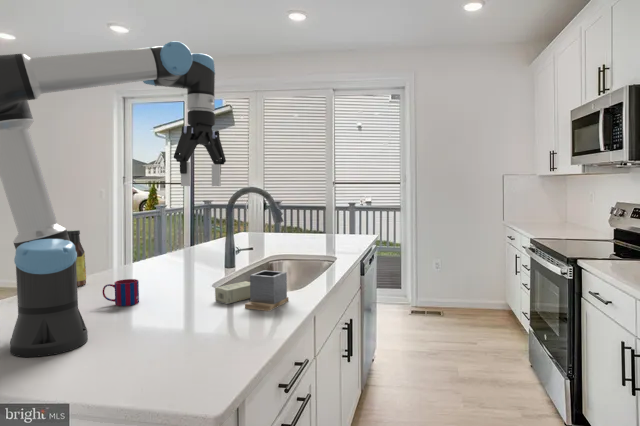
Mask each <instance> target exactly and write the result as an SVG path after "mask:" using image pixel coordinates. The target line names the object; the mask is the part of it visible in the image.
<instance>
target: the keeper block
mask: <svg viewBox="0 0 640 426" xmlns="http://www.w3.org/2000/svg"><path fill="white" fill-rule="evenodd" d="M288 302H289V297H288V296H287V298H286V299H284V300H282V301H280V302H278V303H276V304H266V303H257V302H250V301H248V302H247V303H245V304H244V308H245V309H249V310H256V311H263V312H264V311H265V312H266V311H267V312H271V311H272V310H274V309H276V308H278V307H279V306H282V305H283V304H286V303H288Z"/></svg>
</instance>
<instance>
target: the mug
mask: <svg viewBox="0 0 640 426" xmlns="http://www.w3.org/2000/svg"><path fill="white" fill-rule="evenodd" d="M107 287H113V288H114V298H113V299H112V298H109V297H107V295H106V294H105V290H106V288H107ZM139 287H140V286H139V279H136V278H126V279H119V280H116V281H114V284H111V283H109V284H108V283H107V284H105V285H104V286H103V287H102V296H103V298H104V299H105V300H107V301H110V302H114V304H115V306H117V307H129V306H135V305H137V304H139V303H140V288H139Z"/></svg>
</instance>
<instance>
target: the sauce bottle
mask: <svg viewBox="0 0 640 426" xmlns="http://www.w3.org/2000/svg"><path fill="white" fill-rule="evenodd" d="M67 233H68V236H69V239H70V241H71V242H72V243H73V244H74V245H75V249H76V252H77V259H76V268H77V287H81V286H85V285H86V284H87V271H86V270H87V269H86V267H87V266H86V254H85V250H84V248H83V246H82V244H81V243H82V242H81V239H80V235H81V230H80V229H71V230H67Z"/></svg>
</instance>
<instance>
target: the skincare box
mask: <svg viewBox="0 0 640 426" xmlns="http://www.w3.org/2000/svg"><path fill="white" fill-rule="evenodd" d="M214 296H215V297H214V300H215V302H217V303H221V304H226V305H229V304H233V303H236V302H240V301H244V300H247V299H248V300H249V299H250V281H246V280H245V281H241V282H235V283H231V284H226V285H222V286H216V287H215V288H214Z"/></svg>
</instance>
